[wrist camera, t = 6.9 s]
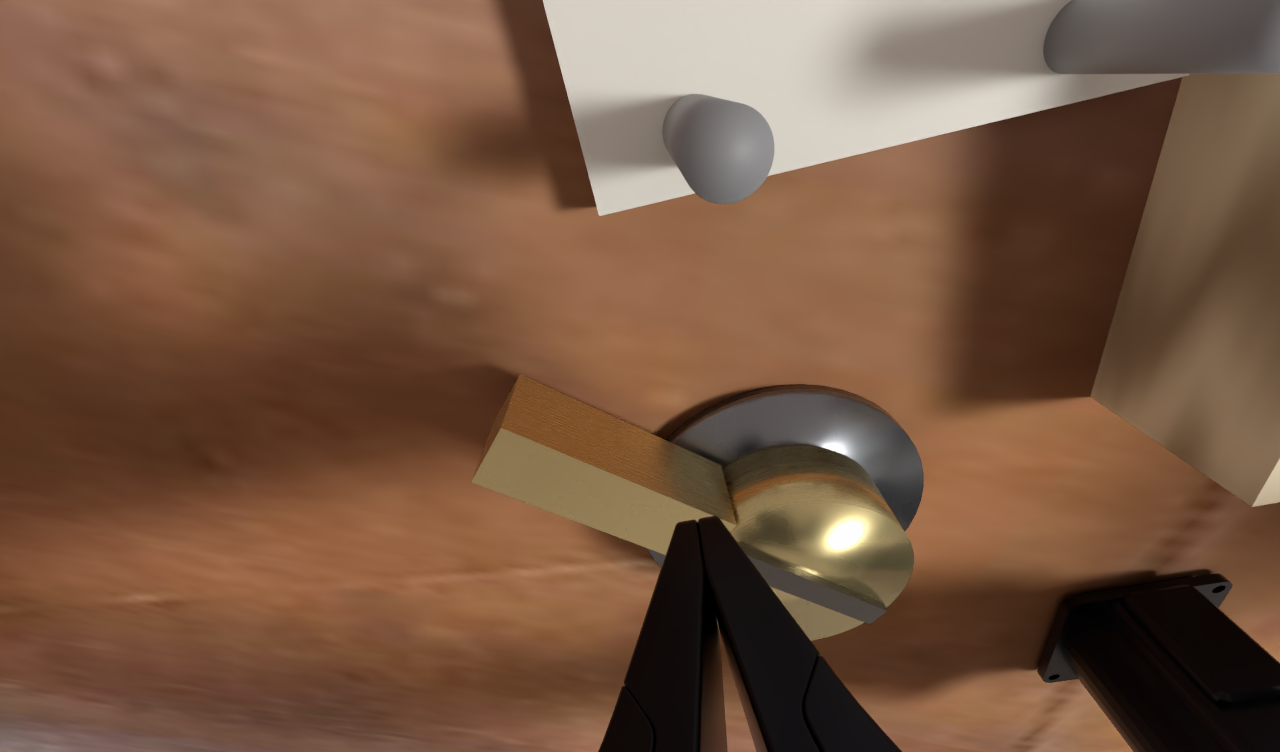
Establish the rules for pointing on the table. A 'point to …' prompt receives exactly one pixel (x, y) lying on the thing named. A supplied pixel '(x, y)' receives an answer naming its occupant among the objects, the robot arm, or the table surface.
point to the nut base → (810, 437)
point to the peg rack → (855, 76)
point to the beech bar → (1207, 290)
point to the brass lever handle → (708, 502)
